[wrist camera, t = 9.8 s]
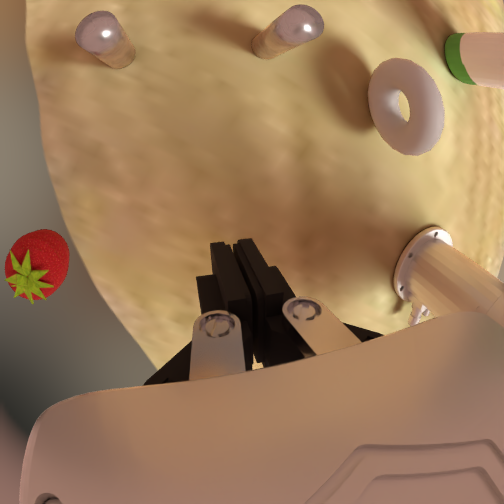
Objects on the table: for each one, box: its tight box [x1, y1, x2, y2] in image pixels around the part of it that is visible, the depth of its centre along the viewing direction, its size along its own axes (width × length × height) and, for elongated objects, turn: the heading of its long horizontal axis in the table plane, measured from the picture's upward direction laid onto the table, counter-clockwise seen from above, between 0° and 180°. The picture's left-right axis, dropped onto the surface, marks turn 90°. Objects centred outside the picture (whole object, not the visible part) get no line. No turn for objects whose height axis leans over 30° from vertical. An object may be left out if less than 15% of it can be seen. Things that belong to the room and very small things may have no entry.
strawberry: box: [5, 229, 69, 304], centre depth 21 cm, size 6×8×10 cm
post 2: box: [251, 5, 324, 59], centre depth 18 cm, size 3×3×9 cm
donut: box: [368, 58, 444, 156], centre depth 23 cm, size 10×4×10 cm, turn 13°
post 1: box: [75, 11, 136, 69], centre depth 16 cm, size 3×3×9 cm
